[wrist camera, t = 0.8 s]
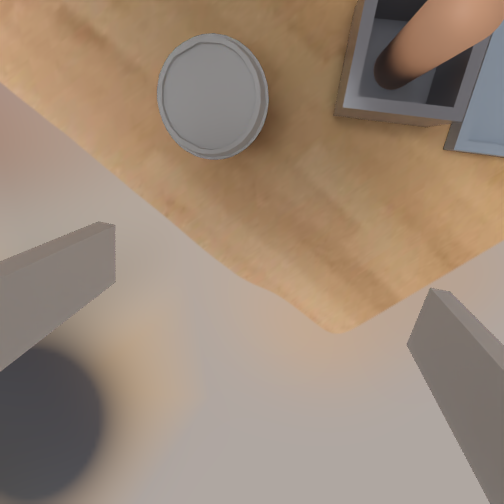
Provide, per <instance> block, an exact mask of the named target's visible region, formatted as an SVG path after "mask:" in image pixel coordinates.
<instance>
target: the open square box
mask: <svg viewBox="0 0 504 504" xmlns="http://www.w3.org/2000/svg"><path fill="white" fill-rule="evenodd" d="M426 1H427V0H358V1H357V4H356V6H355V9H354V14H353V19H352V24H351V29H350V34H349V39H348V44H347V49H346V54H345V59H344V64H343V69H342V74H341V79H340V84H339V89H338V94H337V99H336V104H335V109H334V114H333V116H340V117H348V118H356V119H364V120H372V121H380V122H388V123H396V124H404V125H412V126H420V127H430V126H437V125H444V124H451V123H458V122H462V120H463V117H464V114H465V111H466V108H467V105H468V102H469V99H470V96H471V93H472V90H473V87H474V84H475V81H476V78H477V75H478V72H479V69H480V66H481V63H482V60H483V57H484V54H485V51H486V48H487V45H488V42H489V39H490V36H491V35H490V36H488V37H487V38H485V39H484V40H482V41H480V42H479V43H477V44H475V45H473V46H472V47H470V48H468V49H466V50H465V51H463V52H461V53H459V54H458V55H456V56H454V57H452V58H451V59H449V60H447V61H446V62H444V63H442V64H440V65H439V66H437V67H435V68H433V69H432V70H430V71H428V72H426V73H425V74H423V75H421V76H419V77H418V78H416V79H414V80H412V81H411V82H409V83H407V84H405V85H404V86H402V87H400V88H398V89H394V90H388V89H384V88H382V87H381V86H380V85H379V84H378V83H377V82H376V80H375V77H374V65H375V62H376V59H377V58H378V56H379V55H380V54H381V52H382V51H383V50H384V49H385V48H386V47H387V46H388V44H389V43H390V42H391V41H392V40H393V39H394V38H395V37H396V35H397V34H398V33H399V32H400V31H401V30H402V29H403V28H404V26H405V25H406V24H407V23H408V22H409V21H410V20H411V18H412V17H413V16H414V15H415V14H416V13H417V12H418V11H419V9H420V8H421V7H422V6H423V5H424V4H425V3H426Z"/></svg>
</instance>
